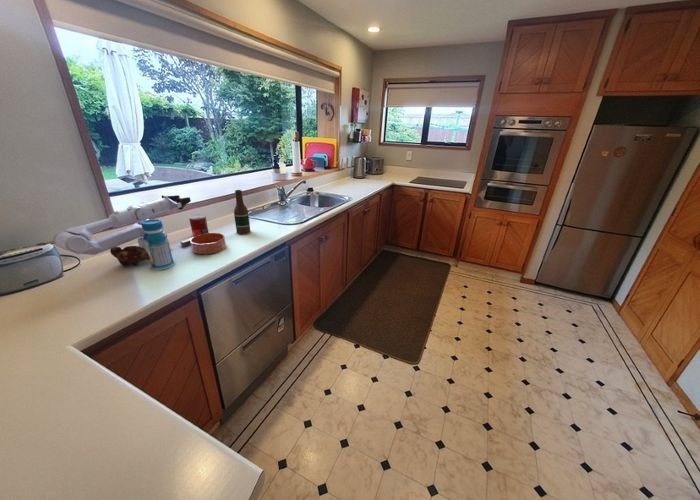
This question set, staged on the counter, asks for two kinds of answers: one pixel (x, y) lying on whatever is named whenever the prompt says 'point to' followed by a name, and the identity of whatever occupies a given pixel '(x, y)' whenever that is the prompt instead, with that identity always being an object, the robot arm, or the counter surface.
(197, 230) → the canned food
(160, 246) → the beverage bottle
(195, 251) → the bowl
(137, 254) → the decorative turtle
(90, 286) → the counter surface
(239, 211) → the beer bottle
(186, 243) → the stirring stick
